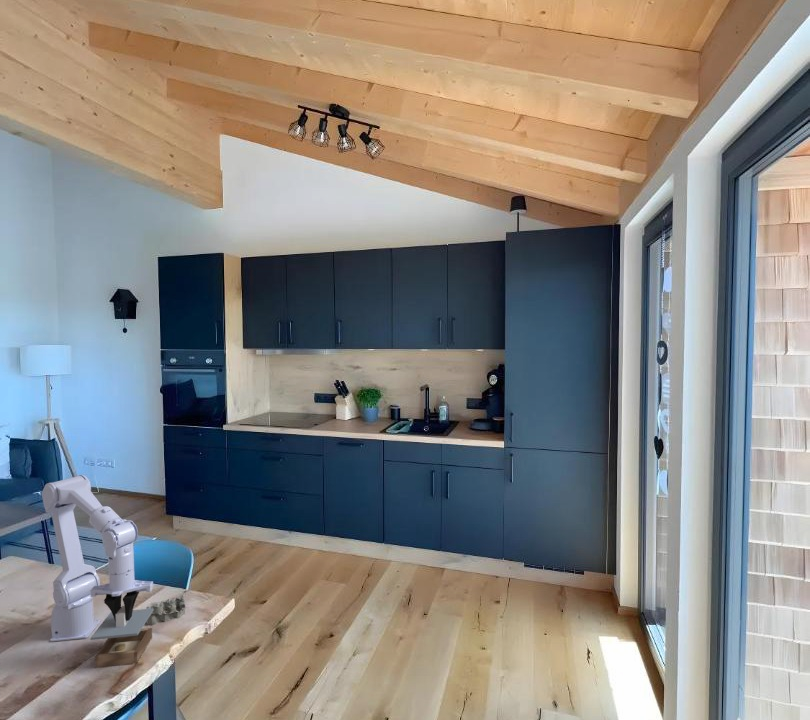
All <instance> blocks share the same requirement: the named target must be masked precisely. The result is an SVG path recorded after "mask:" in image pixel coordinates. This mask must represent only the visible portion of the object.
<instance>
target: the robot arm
mask: <svg viewBox="0 0 810 720" xmlns="http://www.w3.org/2000/svg"><path fill="white" fill-rule="evenodd" d="M91 484H92V483H91V481H90V480H89V478H88V477H87V476H86V475H85V474H78V475H77V476H73V477H69V478H67V479H66V478H65V479H61V480H58V481H53V482H48V483H46V484H45V485H44V487H43V489H42V492H41V498H42V502H43V507H44V510H45V513H47V514H51V519H52V523H53V524H52V525H53V528H54V534H55V538H56V543H57V548H58V554H59V558H60V563H61V567H62V570H61V571H60V573H59V574H58V575H57V576H56V578H54V581H52V583H53V584H52V585H53V586H52V587H53V592H52V595H53V601H54V604H55V605H54V607H53V608H52V611H51V615H50V624H51V625H50V627H51V638H50V640H49V641H50V642H58V641H61V642H62V641H68V640H69V641H70V640H71V641H72V640H79V639H87V638H88V637H89V636H90V635H91V634H92V632H93V631H94V630H95V629H96V627H97V626H98V625H99V623H101V619H95V617H94V615H95V613H94V598H95V597H96V596H103V595H105V598H104V599H103V603H104V604H105V605H106V606H107V607H108V608H109V610H110V613H111V612H112V614H113V617H114V619H115V622H116V614H117V612H118V611H119V610H120V608H121V607H122V602H123V606H125V618H126V621H129V620H130V618H131V617H132V612H133V610H134V606H135V603H136V601H137V597H138V596H139V594H140V592H146V593H151V592H152V590H153V588H154V581H153V580H152V581H150V580H149V581H147V580H137V579H135V557H134V555H135V553H134V543H135V542H136V541H137V540H138V538H139V537H138V536H139V531H138V527H137V525H136V524H135V523H134V521H133V520H130V519H129V520H127V519H123V518H121V517H120V515H119V514H117V512H115V510H114V509H113V508H111V507H110V506H107V505H106V506H103V505H102V504H101V502H100V501H99V499H97V497H96V496H95V494H93V491H92V485H91ZM76 507H78V508H79V509H80V510H81V511H83V512H84V513H85V514H87V515H88V516H89V518H88V522H89V524H90V526H92V527H93V529H95V530H96V532H98V534H100V536H101V541H102V545H103V546H104V550H105V556H106V557H108V559H107V561H108V563H107V564H108V583H105V584H101V580H100V577H99V575H98V574H97V571H96V568H95V566H93V565H90V564H88V563H87V564H86V563H85V561H84V556H83V551H82V546H81V541H80V537H79V532H78V528H77V527H78V526H77V522H76V518H75V513H74V509H75V508H76ZM123 594H125V595H124V596H123Z"/></svg>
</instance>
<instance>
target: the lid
mask: <svg viewBox="0 0 810 720" xmlns="http://www.w3.org/2000/svg"><path fill="white" fill-rule="evenodd" d="M153 611H154V608H152V609H146V608H144V609H143V608H141V609H133V612H132V617H131V618H130V620H129V621H126V618H125V606H124V605H121V608H120V610H119V611H118V612H117V614H116V622H115V619H114V617H113V614H112V612H111V611H110V613H109V614H108V615H107V616H106V618H105V619H104V620H103V621H102V623H101V624H100V625H99V626H98V628H97V629H96V630H95V631H94V633H93V634H92V635H91V636H90V639H89V640H90V641H95V640H105V639H106V640H107V639H108V638H117V637H127V636H137V635H138V634H139V632H140V631H141V629H144V626H145V624H147V620H148V618H149V617H150V615H151V614H152V612H153Z"/></svg>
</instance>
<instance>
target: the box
mask: <svg viewBox="0 0 810 720" xmlns="http://www.w3.org/2000/svg"><path fill="white" fill-rule="evenodd" d="M152 639H153V629H152V627H148V628H147V627H146V628H142V629H141V631H140V632H139V634H138V635H137V636H127V637H117V638H107V639H106V640H105V642H104V644H103V645H101V647H100V648H99V649H98V651H97V653H96V654H95V656H94V666H95V667H94V669H98V668H107V667H115V666H117V667H118V666H123V665H124V666H125V665H126V666H127V665H134V664H133V663H136V664H139V662H138V661H140V660H141V659H142V657H141V656H143V655H144V653H145V652H146V650H147V649H148V646H149V645H150V643H151V641H152ZM142 654H143V655H142ZM139 659H140V660H139Z"/></svg>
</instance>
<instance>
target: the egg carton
mask: <svg viewBox="0 0 810 720" xmlns="http://www.w3.org/2000/svg"><path fill="white" fill-rule="evenodd" d="M177 607H179V610H177ZM152 608H154V611H153V612H152V614H151V615H150V617H149V618H148V620H147V621H146V626H148V625H149V626H155V625H157V624H158V623H160V622H164V621H165V623H166V622H168V621H170V620H171V619H173V617H174V618H177V619H179V618H182V617H183V616H184V615H186V603H185V598H184V595H183V594H180V595H179V596H177V597H172V598H171V599H170V598H168V599H166V600H162V601H159V602H156V601H155V602H152V603H150V604H148V605H147V606H146V607H145V609H152ZM166 609H167V610H166ZM163 610H164V611H163ZM162 611H163V612H162ZM165 611H167V612H165ZM161 612H162V613H161ZM159 621H160V622H159ZM157 622H158V623H157Z"/></svg>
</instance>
